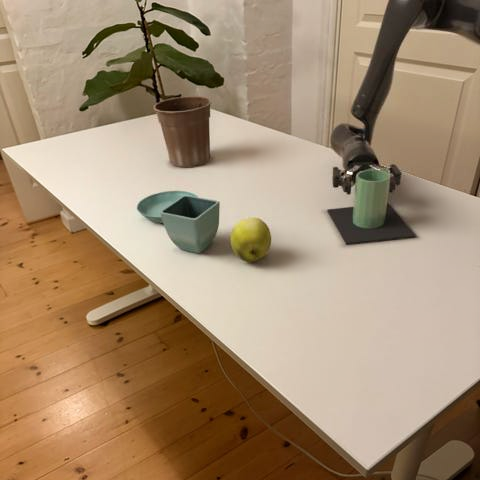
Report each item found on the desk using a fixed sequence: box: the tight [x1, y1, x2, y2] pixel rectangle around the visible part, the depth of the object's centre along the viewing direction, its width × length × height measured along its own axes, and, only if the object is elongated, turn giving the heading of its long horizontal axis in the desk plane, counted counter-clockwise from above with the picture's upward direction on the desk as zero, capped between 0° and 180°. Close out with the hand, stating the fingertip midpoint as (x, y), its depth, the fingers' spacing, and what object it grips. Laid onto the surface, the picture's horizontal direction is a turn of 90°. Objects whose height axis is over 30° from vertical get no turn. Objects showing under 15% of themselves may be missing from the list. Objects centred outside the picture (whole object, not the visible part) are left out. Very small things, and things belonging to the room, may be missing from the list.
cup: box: [352, 169, 391, 228], centre depth 95 cm, size 7×7×10 cm
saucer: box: [136, 190, 199, 224], centre depth 109 cm, size 15×15×3 cm
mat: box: [326, 202, 416, 246], centre depth 98 cm, size 14×16×1 cm
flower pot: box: [160, 195, 221, 254], centre depth 93 cm, size 9×9×9 cm
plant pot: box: [153, 95, 212, 168], centre depth 134 cm, size 16×16×16 cm
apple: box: [230, 217, 272, 263], centre depth 88 cm, size 8×9×8 cm
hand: (370, 189), depth 95 cm, fingers open, 8 cm apart
